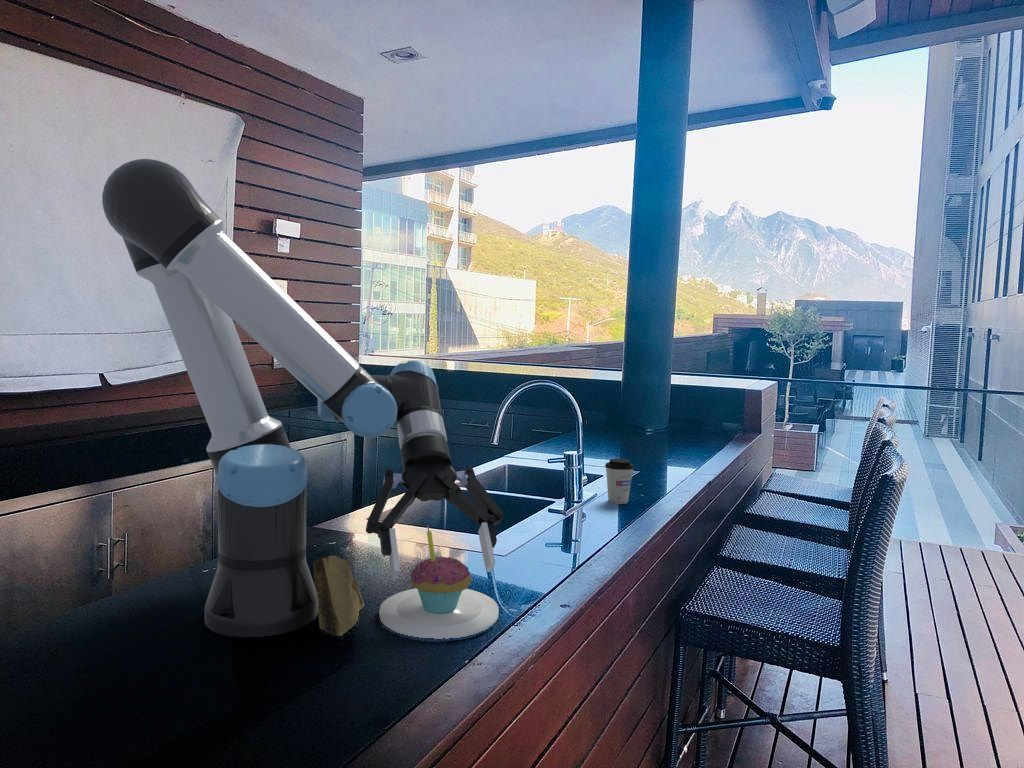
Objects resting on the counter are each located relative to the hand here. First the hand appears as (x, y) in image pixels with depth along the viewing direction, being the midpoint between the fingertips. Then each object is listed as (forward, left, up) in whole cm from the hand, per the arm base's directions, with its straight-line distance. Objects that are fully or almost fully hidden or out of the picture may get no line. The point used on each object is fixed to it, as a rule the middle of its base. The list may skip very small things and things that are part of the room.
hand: (444, 571), depth 102 cm
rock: (-13, +4, -8) cm, 16 cm away
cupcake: (0, +2, -6) cm, 7 cm away
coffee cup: (+57, +57, -8) cm, 81 cm away
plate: (0, +2, -7) cm, 8 cm away
